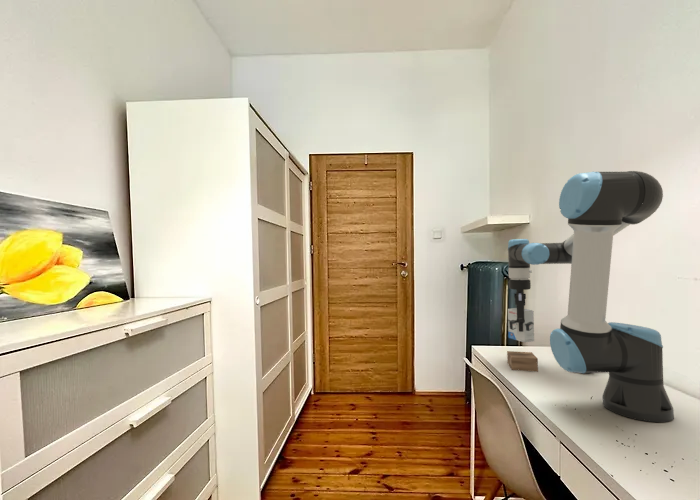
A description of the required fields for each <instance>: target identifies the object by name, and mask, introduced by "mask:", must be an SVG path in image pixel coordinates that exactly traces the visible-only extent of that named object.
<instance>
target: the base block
mask: <svg viewBox="0 0 700 500" xmlns="http://www.w3.org/2000/svg"><path fill="white" fill-rule="evenodd" d="M506 351H507V350H506ZM506 353H507V354H506V357H507V360H506V361H507V363H506V364H507V365H508V366H509V368H510V369H511V371H522V372H523V371H524V372H539V361H538V360H539V359H538V357H537V356H536V355H535V354H534V353H533V352H531V351H514V350H513V351H512V350H509V351H507V352H506Z"/></svg>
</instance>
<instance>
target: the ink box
mask: <svg viewBox="0 0 700 500" xmlns="http://www.w3.org/2000/svg"><path fill="white" fill-rule="evenodd" d="M534 316H535V315H534V310H532V309H527V308H524V319H525V322H524V323H525V340H517V322H515V320H517V307H513V308H507V326H508V327H507V331H508V332H507V333H508V339H512V340H515V341H519V342H523V343H532V342H535V322H534V321H535V318H534ZM521 319H522V318H521Z"/></svg>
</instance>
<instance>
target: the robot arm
mask: <svg viewBox="0 0 700 500" xmlns="http://www.w3.org/2000/svg"><path fill="white" fill-rule="evenodd" d="M663 197H664V191H663V188H662V185H661V183H660V182H659V181H658V180H657V179H656V177H654V176H653V175H651V174H650V173H649V174H648V173H647V172H643V171H638V170H629V171H589V172H579V173H576V174H574V175H573V176H571V177H570V178H569V179H568V180H567V182H565V184H564V185H563V187H562V189H561V192H560V195H559V199H558V200H559V201H558V206H559V207H558V208H559V209H560V211H559V212H560V214H561V215H562V216H563V218H566V219H567V225H568V226H569V227H570V228H571V229H572V230H573V234H571V235H570V236H569V237H567V239H565V240H564V241H562V242H544V243H543V242H542V243H541V242H530V241H529V239H528V238H515V239H509V241H508V242H507V245H508V246H507V254H508V255H507V256H508V257H507V258H508V259H507V260H508V278H509V280H508V286H509V287H508V288H509V289H510V290H516V292H515V293H513V294H514V296H513V297H514V302H515V303H514V304H515V306H516V308H517V320H515V322H517V340H516V341H518V340H525V323H524V322H525V319H524V309H525V306H526V299H527V297H526V293H524V290H525V291H527V290H531V286H532V285H531V279H530V278H531V273H533V272H532V270H531V265H534V266H535V265H557V264H559V265H560V264H562V265H563V264H567V265H571V266H570V277H569V292H568V295H569V296H568V302H567V303H568V305H567V306H568V307H567V315H565V316H564V317H562V318H561V319H560V327H559V328H554V329H553V330H552V331H551V332H550V336H549V345H550V350H551V352H552V355H553V357H554V359H555V361H556V363H557V364H558V365H559V366H560V367H561V368H562V369H563V370H564V371H565V372H569V373H578V372H579V374H583V373H591V374H593V373H608V380H607V382H606V385H605V388H604V390H603V393H602V405H603V407H604V408H606V409H607V410H608V411H611V412H612V413H615V414H617V415H620V416H622V417H626V418H630V419H634V420H638V421H644V422H651V423H652V422H653V423H666V422H670V421H673V420H674V418H675V415H674V411H675V409H674V407H673V405H672V403H671V401H670V398H669V395H668V393H667V390H666V388H665V385H664V366H663V365H664V362H663V361H664V359H663V358H664V357H663V356H664V353H663V348H664V346H663V342H662V335H661V333H660V332H659V331H658V330H657V329H654V328H650V327H647V326H641V325H635V324H630V323H629V324H628V323H623V322H616V321H615V322H614V321H613V322H612V321H611V322H610V321H609V322H607V321H606V319H607V318H606V315H607V305H608V298H609V297H608V295H609V285H610V276H611V275H610V272H611V264H612V252H613V251H612V250H613V243H614V242H613V240H614V236H615V235H616V234H618V233H619V232H622V231H623V230H624V229H626V228H627V227H629V226H630V225H631V226H632V225H638V224H640V223H642V222H643V221H645V220H647V219H648V218H649V217H651V216H652V215H654V213H656V212H657V210H658V209H659V208H660V206H661V204H662V202H663V199H664V198H663ZM521 318H522V319H521Z"/></svg>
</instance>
